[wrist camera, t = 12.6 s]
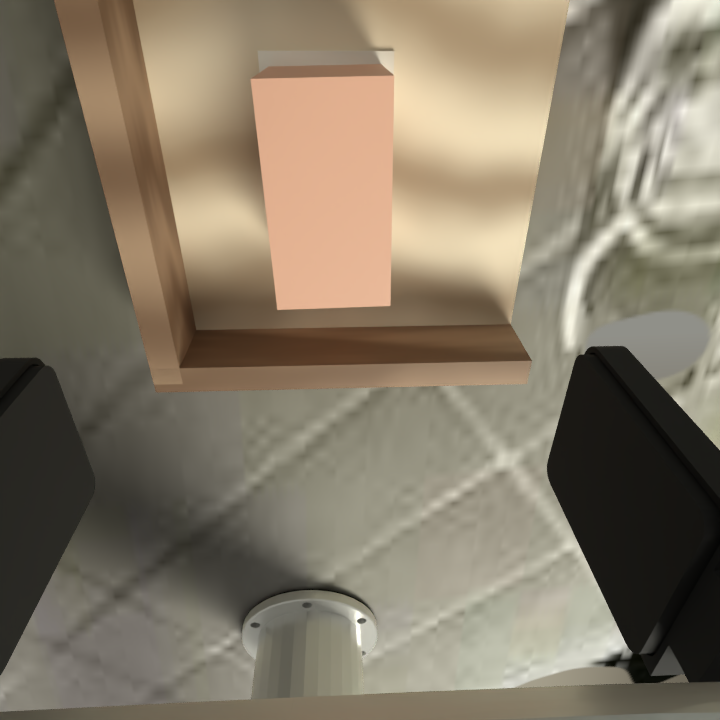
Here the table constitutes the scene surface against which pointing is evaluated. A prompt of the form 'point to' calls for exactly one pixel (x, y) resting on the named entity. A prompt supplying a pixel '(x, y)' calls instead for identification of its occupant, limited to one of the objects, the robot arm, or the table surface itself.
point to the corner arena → (246, 195)
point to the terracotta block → (327, 182)
